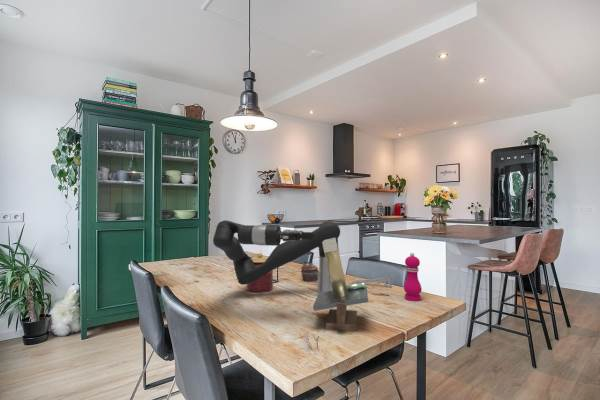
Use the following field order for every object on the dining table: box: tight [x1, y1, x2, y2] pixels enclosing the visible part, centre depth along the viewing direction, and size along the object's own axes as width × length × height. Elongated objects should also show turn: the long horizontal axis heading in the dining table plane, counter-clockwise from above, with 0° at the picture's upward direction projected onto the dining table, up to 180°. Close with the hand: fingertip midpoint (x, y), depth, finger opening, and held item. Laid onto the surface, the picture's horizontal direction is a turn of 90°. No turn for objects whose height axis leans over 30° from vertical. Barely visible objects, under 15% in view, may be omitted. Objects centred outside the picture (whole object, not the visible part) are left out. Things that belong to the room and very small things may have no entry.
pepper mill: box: [403, 252, 423, 302], centre depth 135 cm, size 7×7×20 cm
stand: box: [325, 302, 358, 332], centre depth 109 cm, size 10×20×10 cm, turn 169°
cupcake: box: [300, 261, 319, 283], centre depth 170 cm, size 10×10×10 cm
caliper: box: [351, 274, 392, 288], centre depth 159 cm, size 20×1×6 cm, turn 59°
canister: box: [246, 252, 274, 293], centre depth 153 cm, size 13×13×18 cm
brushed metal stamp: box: [312, 238, 369, 312], centre depth 110 cm, size 18×16×21 cm
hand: (313, 235), depth 111 cm, fingers closed
